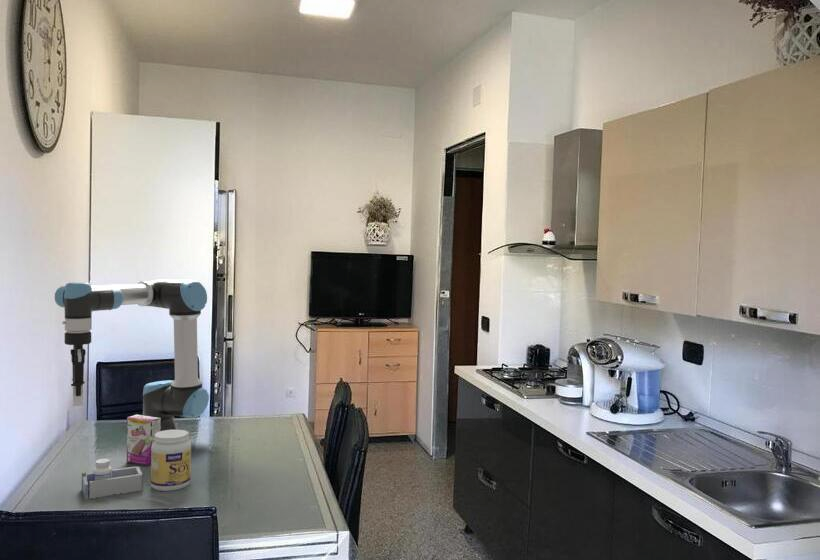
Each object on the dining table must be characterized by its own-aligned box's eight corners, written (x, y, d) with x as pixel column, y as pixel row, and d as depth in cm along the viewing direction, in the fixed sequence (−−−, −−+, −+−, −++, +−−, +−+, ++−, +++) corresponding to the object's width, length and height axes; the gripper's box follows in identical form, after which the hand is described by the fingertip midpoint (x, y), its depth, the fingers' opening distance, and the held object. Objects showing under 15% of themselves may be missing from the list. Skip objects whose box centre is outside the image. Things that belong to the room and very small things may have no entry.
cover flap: (85, 488, 197) (86, 472, 197) (88, 498, 189) (88, 481, 189) (81, 489, 196) (81, 472, 196) (84, 499, 188) (84, 482, 188)
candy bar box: (125, 462, 222) (126, 417, 222) (136, 458, 227) (136, 413, 226) (151, 467, 218) (151, 420, 218) (161, 462, 223) (161, 417, 223)
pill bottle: (97, 488, 198) (97, 457, 197) (114, 488, 198) (115, 457, 198) (89, 494, 192) (90, 463, 192) (107, 494, 193) (108, 463, 192)
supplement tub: (166, 495, 193) (167, 441, 193) (142, 486, 200) (142, 434, 199) (198, 483, 204) (199, 432, 203) (174, 476, 210) (175, 426, 210)
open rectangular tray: (138, 481, 205) (138, 466, 204) (142, 490, 197) (143, 474, 197) (86, 489, 197) (86, 473, 196) (89, 498, 189) (89, 482, 189)
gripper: (63, 329, 201) (63, 402, 202) (65, 334, 190) (65, 411, 191) (89, 328, 205) (89, 399, 206) (93, 333, 194) (93, 408, 195)
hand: (77, 405), depth 198 cm, fingers closed
